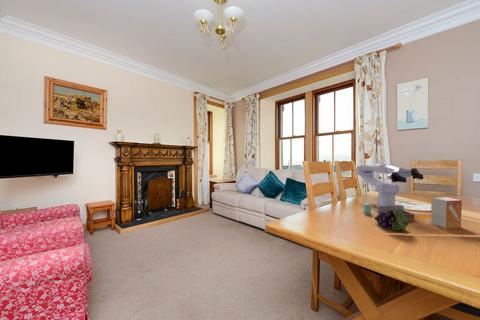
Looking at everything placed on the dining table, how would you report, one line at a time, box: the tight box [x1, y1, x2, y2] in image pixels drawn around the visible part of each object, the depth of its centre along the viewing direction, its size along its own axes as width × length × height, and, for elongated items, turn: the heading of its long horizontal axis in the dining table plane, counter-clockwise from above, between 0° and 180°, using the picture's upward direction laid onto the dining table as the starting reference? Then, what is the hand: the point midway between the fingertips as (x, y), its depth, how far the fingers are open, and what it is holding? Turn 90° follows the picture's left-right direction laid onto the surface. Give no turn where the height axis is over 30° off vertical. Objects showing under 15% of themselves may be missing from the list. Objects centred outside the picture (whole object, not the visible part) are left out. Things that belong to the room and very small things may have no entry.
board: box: [376, 204, 405, 214], centre depth 102 cm, size 18×13×5 cm
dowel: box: [363, 202, 372, 215], centre depth 110 cm, size 3×3×6 cm
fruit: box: [374, 208, 413, 232], centre depth 88 cm, size 10×10×15 cm
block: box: [396, 209, 416, 221], centre depth 102 cm, size 7×7×3 cm
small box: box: [430, 196, 463, 229], centre depth 91 cm, size 8×6×13 cm
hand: (414, 178), depth 100 cm, fingers open, 7 cm apart
